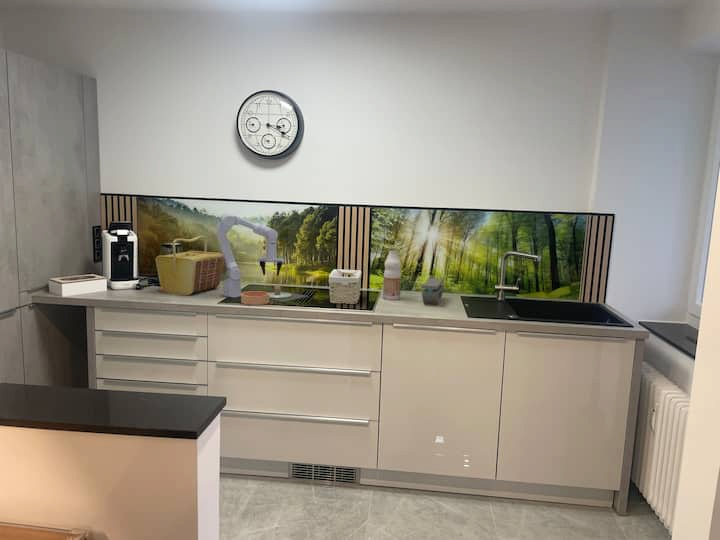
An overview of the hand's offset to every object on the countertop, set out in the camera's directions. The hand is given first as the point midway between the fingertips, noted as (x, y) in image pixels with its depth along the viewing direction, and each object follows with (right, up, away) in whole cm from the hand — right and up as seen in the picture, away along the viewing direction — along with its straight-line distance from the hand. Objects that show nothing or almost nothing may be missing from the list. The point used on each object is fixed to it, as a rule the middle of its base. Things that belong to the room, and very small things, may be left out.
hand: (271, 275), depth 318 cm
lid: (+5, -11, -7) cm, 14 cm away
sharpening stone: (+88, -15, -7) cm, 90 cm away
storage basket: (+41, -13, -8) cm, 44 cm away
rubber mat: (+6, -12, -6) cm, 15 cm away
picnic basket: (-45, -9, +4) cm, 46 cm away
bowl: (-5, -14, -22) cm, 26 cm away
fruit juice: (+66, -13, -2) cm, 68 cm away
